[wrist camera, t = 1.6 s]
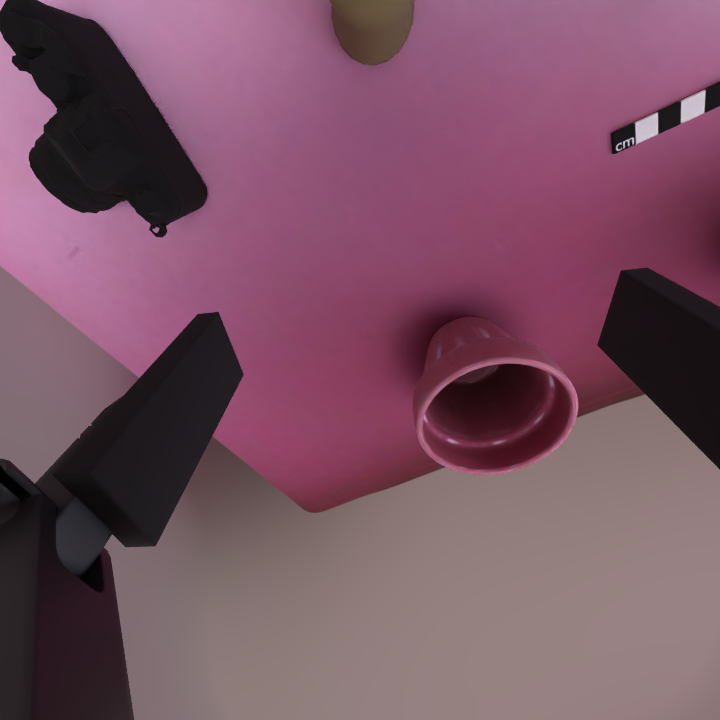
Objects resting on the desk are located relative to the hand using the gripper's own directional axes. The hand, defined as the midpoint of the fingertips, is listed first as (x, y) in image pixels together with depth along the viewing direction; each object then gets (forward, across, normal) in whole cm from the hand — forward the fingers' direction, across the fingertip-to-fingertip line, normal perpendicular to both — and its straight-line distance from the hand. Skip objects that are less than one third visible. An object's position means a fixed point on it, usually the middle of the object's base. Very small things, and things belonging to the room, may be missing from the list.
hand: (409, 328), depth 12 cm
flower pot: (+25, +8, -18) cm, 31 cm away
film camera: (+25, -22, +7) cm, 34 cm away
